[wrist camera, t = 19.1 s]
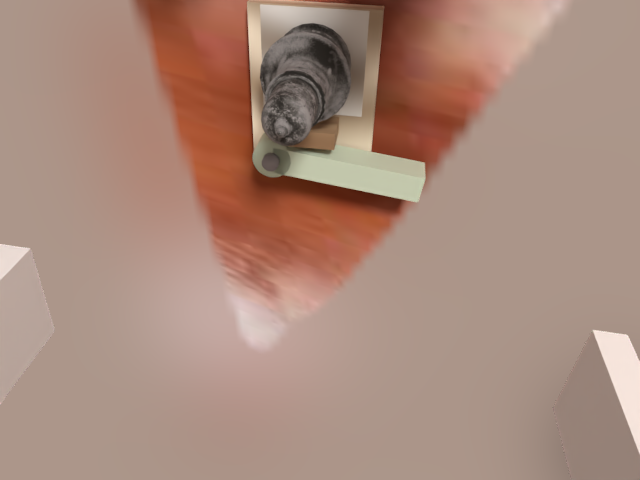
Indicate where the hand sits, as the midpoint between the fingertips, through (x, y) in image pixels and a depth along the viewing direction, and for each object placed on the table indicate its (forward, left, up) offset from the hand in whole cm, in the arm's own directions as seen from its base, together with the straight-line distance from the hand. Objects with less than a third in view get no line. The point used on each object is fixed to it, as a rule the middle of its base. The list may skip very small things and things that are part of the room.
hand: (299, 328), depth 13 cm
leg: (+9, -1, -28) cm, 30 cm away
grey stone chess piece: (+3, -4, -28) cm, 29 cm away
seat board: (+5, -4, -29) cm, 30 cm away
